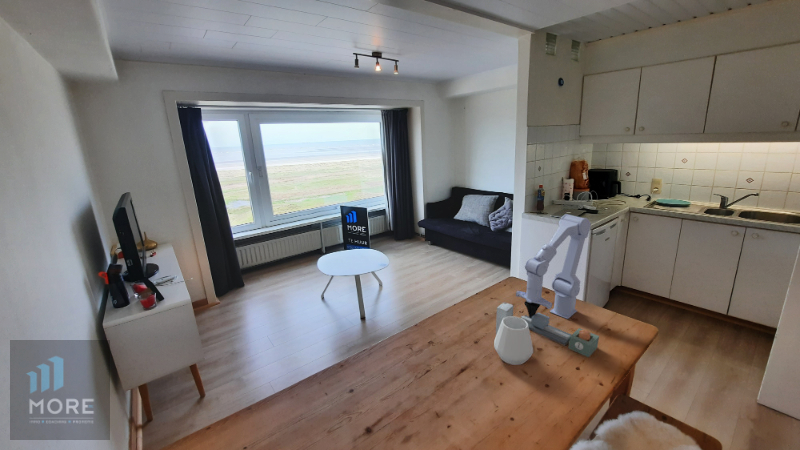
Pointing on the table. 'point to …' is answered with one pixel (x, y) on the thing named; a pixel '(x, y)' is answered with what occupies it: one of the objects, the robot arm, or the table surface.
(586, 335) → the button
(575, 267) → the robot arm
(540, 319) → the carriage
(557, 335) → the rail base
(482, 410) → the table surface
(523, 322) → the cup
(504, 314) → the skincare box
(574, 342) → the cabinet
